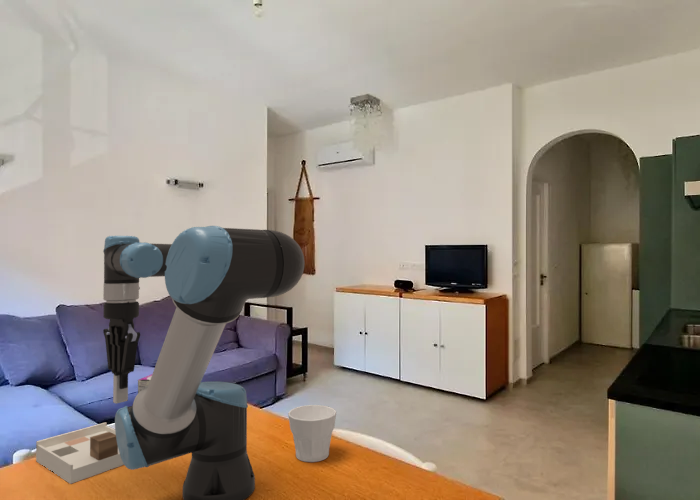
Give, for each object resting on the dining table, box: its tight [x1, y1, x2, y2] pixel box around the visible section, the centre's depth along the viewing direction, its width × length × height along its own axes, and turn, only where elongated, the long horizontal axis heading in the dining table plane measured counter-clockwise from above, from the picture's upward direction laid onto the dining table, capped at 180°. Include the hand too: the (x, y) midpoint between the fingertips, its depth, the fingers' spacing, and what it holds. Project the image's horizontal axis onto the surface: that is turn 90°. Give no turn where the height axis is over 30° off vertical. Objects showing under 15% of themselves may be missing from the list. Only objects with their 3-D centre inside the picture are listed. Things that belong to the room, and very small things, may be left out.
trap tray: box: [35, 422, 125, 485], centre depth 116 cm, size 20×17×5 cm
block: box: [90, 432, 118, 460], centre depth 112 cm, size 4×4×4 cm
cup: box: [287, 404, 337, 463], centre depth 118 cm, size 12×12×11 cm
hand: (120, 401), depth 107 cm, fingers closed
